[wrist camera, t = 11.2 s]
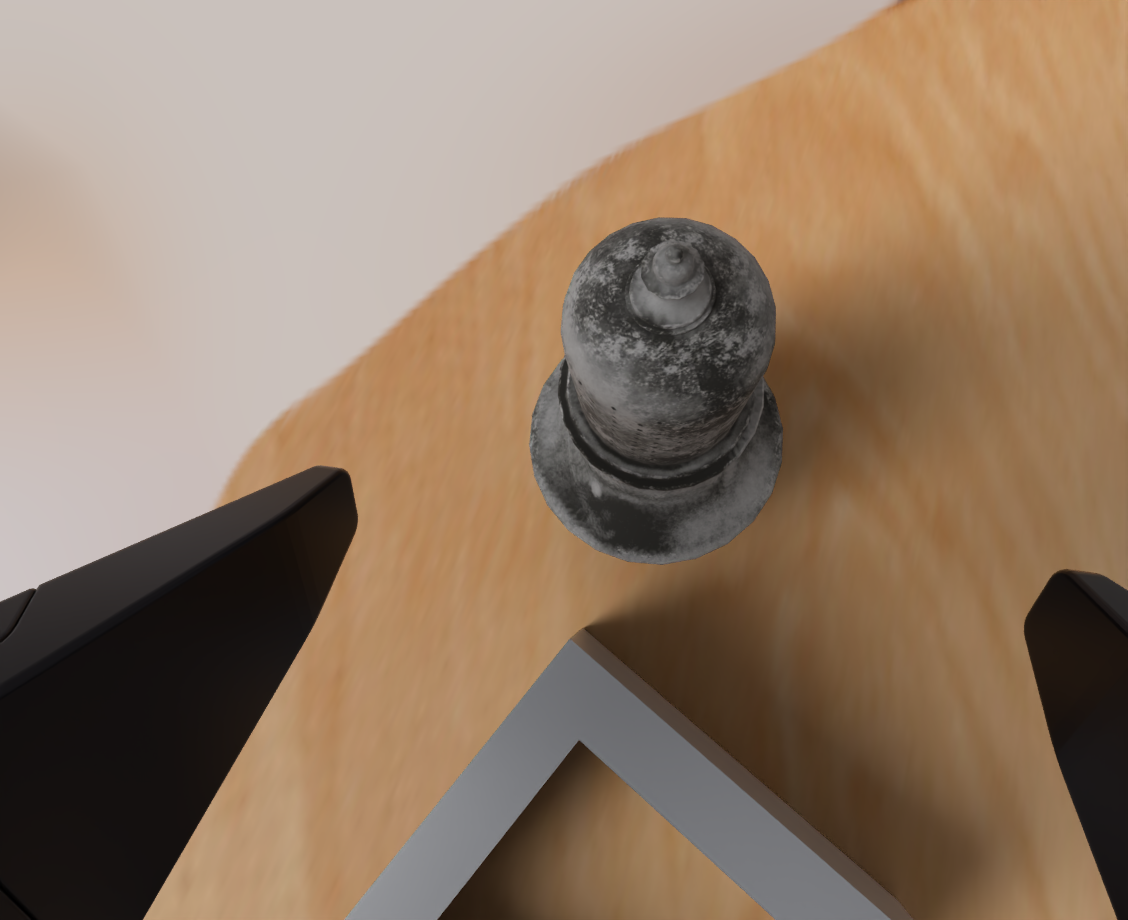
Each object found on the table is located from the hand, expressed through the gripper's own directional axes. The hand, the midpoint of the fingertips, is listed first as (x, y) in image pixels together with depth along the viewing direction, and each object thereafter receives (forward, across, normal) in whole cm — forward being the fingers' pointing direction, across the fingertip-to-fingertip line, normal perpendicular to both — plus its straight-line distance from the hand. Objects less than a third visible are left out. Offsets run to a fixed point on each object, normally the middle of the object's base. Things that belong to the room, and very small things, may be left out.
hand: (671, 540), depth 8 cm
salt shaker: (+9, 0, +5) cm, 10 cm away
